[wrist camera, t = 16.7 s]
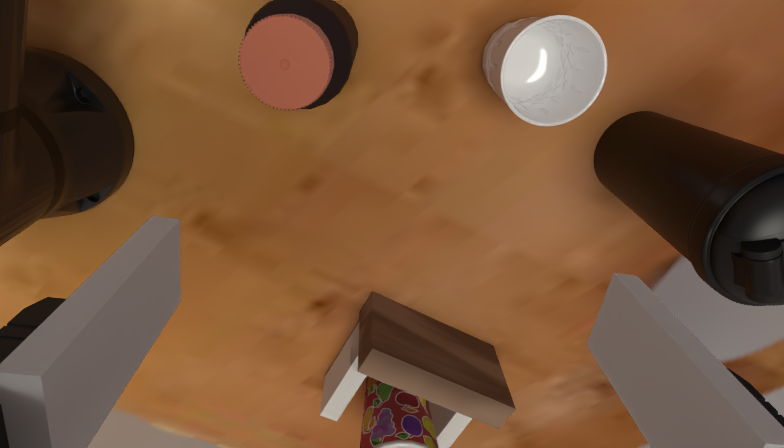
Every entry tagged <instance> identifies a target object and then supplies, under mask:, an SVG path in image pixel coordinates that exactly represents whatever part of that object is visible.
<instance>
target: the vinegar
mask: <svg viewBox="0 0 784 448" xmlns="http://www.w3.org/2000/svg"><path fill="white" fill-rule="evenodd" d="M244 37H245V38H244V39H243V40H242V41H243V42H242V43H241V45H242V46H241V47H240V49H241V51H239V53H240V55H239V56H238V57H239V60H238V61H240V64H238V65H240V67H241V68H239V69H241V72H240V73H242V77H243V78H244V80H243V81H245V82H246V84H245V85H247V86H248V87H247V88H249V89H250V92H251V91H252V92H253V95H255V96H256V98H259V100H262V103H263V102H265V103H266V105H267V104H268V105H269V107H270V106H273V108H274V107H276V108H277V109H278V108H280V109H281V110H282V109H284V110H286V109H288V111H289V110H290V109H292V110H294V109H296V110H297V109H312V108H315V107H317V106H320V105H323V104H326V103H327V102H329V101H330V100H331V99H332V98H334V97H335V96H336V95H337V94H339V92H340V91H341V89H342V88H343V86H344V85H345V83H346V82H347V80H348V78H349V75H350V71H351V68H352V65H353V61H354V58H355V55H356V51H357V47H358V32H357V29H356V26H355V24H354V21H353V19H352V17H351V16H350V15H349V13H348V12H347V11H346V9H344V8H343V7H342V6H340V5H339V4H338V3H336V2H335V1H332V0H273V1H270V2H268V3H267V4H265V5H264V6H263V7H262V8H261V9H260V10H259V11H258V12H256V13H255V14H254V16H253V18H252V20H251V21H250V23H249V25H248V27H247V29H246V32H245V36H244Z"/></svg>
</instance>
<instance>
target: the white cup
mask: <svg viewBox="0 0 784 448" xmlns="http://www.w3.org/2000/svg"><path fill="white" fill-rule="evenodd" d="M482 68H483V71H484V74H485V77H486V80H487V82H488V83H489V84H490V85H491V87H492V89H493V90H494V92H495V93H496V94H497V95H498V96H499V98H500V99H501V100H502V101H503V102H504V103H505V104H506V105H507V106H508V107H509V108H510V109H511V110H512V111H513V112H514V113H515V114H516V115H517V116H518V117H519V118H521V119H522V120H524V121H526V122H528V123H531V124H534V125H538V126H555V125H560V124H563V123H566V122H569V121H571V120H573V119H575V118H576V117H578V116H579V115H581V114H582V113H583V112H585V111H586V110H587V109H588V108H589V107H590V106H591V105H592V103H593V102H594V101H595V99H596V98H597V96H598V95H599V93H600V91H601V89H602V87H603V84H604V81H605V78H606V73H607V54H606V49H605V46H604V43H603V41H602V39H601V37H600V36H599V34H598V33H597V32H596V30H595V29H594V28H593V27H592V26H590V25H589V24H588V23H586V22H585V21H583V20H581V19H579V18H576V17H572V16H567V15H554V16H539V17H530V18H524V19H520V20H518V21H513V22H508V23H506V24H505V25H503V26H502V27H501V28H499V29H498V30H497V31H495V32H494V33H493V34H492V36H491V37H490V39H489V41H488V43H487V44H486V46H485V48H484V52H483V61H482Z"/></svg>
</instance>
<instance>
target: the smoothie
mask: <svg viewBox="0 0 784 448" xmlns="http://www.w3.org/2000/svg"><path fill="white" fill-rule="evenodd" d="M360 448H439V447H438V442H437V438H436V434H435V429H434V425H433V420H432V416H431V411H430V407H429V403H428V400H425V399H423V398H421V397H418V396H416V395H413V394H411V393H409V392H406V391H404V390H401V389H398V388H396V387H394V386H391V385H389V384H386V383H384V382H381V381H379V380H376V379H374V378H371V377H368V379H367V381H366V392H365V402H364V412H363V421H362V431H361V441H360Z"/></svg>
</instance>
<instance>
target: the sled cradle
mask: <svg viewBox="0 0 784 448" xmlns="http://www.w3.org/2000/svg"><path fill="white" fill-rule="evenodd" d="M358 347H359V322H358V324H357V326H356V327H355V329H354V331H353V332H352V334H351V335H350V337H349V339H348V340H347V342H346V344H345V345H344V347H343V348H342V350H341V352H340V353H339V355H338V356H337V358H336V360H335V361H334V363H333V365H332V366H331V368H330V369H329V371H328V373H327V374H326V376H325V379H324V387H323V395H322V403H321V411H320V415H321V416H324V417H326V418H329V419H332V420H334V421H337V420H338V419H339V417H340V416H341V414H342V413H343V411H344V410H345V408H346V406H347V405H348V403H349V402H350V400H351V399H352V397H353V396H354V394H355V393H356V391H357V390H358V388H359V387H360V385H361V384H362V382H363V381H364V379H365V378H366V376H367V375H364V374H362V373H360V372H358ZM371 378H372V377H371ZM376 380H377V379H376ZM381 382H382V381H381ZM398 389H399V388H398ZM425 400H426V399H425ZM429 407H430V411H431V416H432V420H433V425H434V429H435V434H436V438H437V442H438V447H439V448H449V447H450V446H451V445H452V444H453V442H454V441H455V440H456V438H457V437H458V436H459V435H460V433H461V432H462V431H463V430H464V428H465V427H466V426H467V424H468V423H469V422H470V421H471V419H472V418H470V417H467V416H465V415H462V414H460V413H457V412H455V411H453V410H450V409H448V408H445V407H443V406H440V405H438V404H435V403H433V402H431V401H429Z"/></svg>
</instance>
